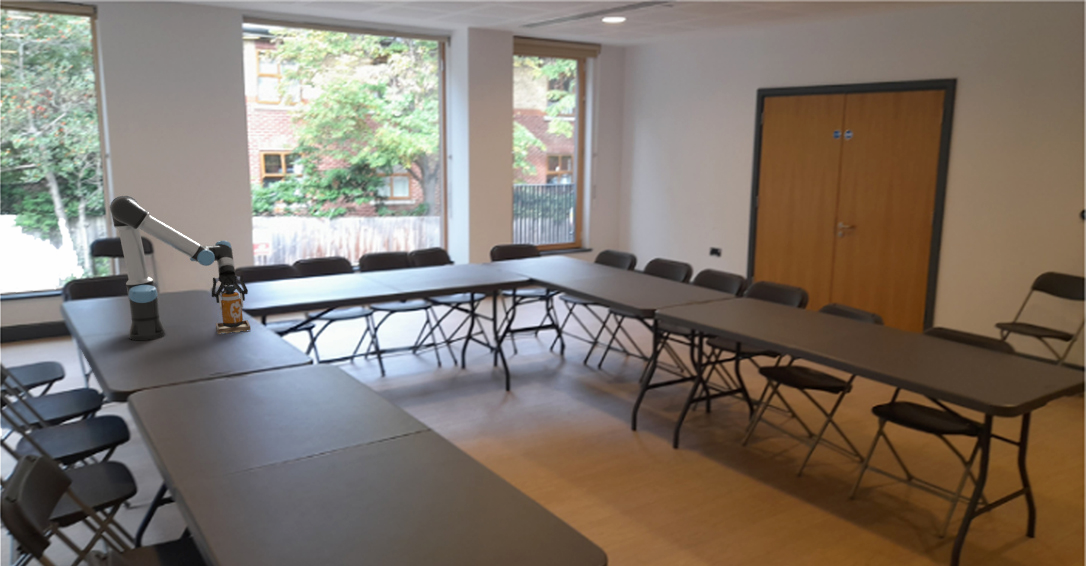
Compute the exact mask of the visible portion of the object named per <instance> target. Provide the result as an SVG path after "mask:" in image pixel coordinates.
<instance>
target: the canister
mask: <svg viewBox="0 0 1086 566" xmlns="http://www.w3.org/2000/svg"><path fill="white" fill-rule="evenodd" d="M220 294H221V305H222V309H221V316H222V323H223V326H226V327H238V326H240V325H242V324H243V321H244V319H243V307H241V299H240V293H239V292H238V291H237V289H236V287H235V286H233V285H229V284H228V285H227V286H225V285H224V286H223V287H222V288H221V293H220Z"/></svg>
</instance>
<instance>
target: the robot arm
mask: <svg viewBox="0 0 1086 566" xmlns="http://www.w3.org/2000/svg"><path fill="white" fill-rule="evenodd" d="M109 210H110V213H111V218H112V223H113V227H114V228H115V229H116V230H118V234H119V238H120V242H121V243H120V244H121V249H122V253H123V256H124V257H123V258H124V263H125V268H126V272H127V278H128V280H127V281H126V282H125V285H126V289H127V290H126V291H127V297H128V300H129V308H130V317H131V323H130V328H129V332H128V338H130V339H129V340H131V339H132V341H147V340H148V339H150V340H155V338H156V339H159V338H163V337H164V335H165V336H166V329H165V327H164V325H163V323H162V321H161V318H160V317H161V316H160V308H159V297H158V295H159V294H158V290H157V288H156V286H155V283H154V279H153V278H152V277H150V276H149V275H150V274H149V270H148V266H147V259H146V257H145V250H144V246H143V245H144V244H143V240H142V237H141V231H143V232H144V233H147V234H148V235H150V236H152V237H154V238H155V239H157V240H158V241H161V242H162V243H164V244H166V245H167V246H169V247H170V248H171V247H172V249H175V250H177V251H178V252H180V253H181V254H182V255H185V256H187V257H189V260H190V262H196V263H197V262H198V263H199V264H200V265H201V266H204V267H207V266H211V265H213V263H214V262H215V261H216V263H217V270H218V277H212V288H211V298H215V300H216V301H215V302H216V304H219V310H222V305H221V300H222V296H221V294H222V293H221V288H222V287H223V286H224V285H225V286H227V285H228V284H229V285H230V286H235V287H236V291H237V293H239V298H240V299H241V307H242V308H244V301H245V300H246V295H248V294H249V290H248V288H247V285H246V283H245V282H244V278H243V277H244V276H243V275H240V276H237V275H236V269H235V261H234V256H233V254H234V253H233V249H232V245H231V243H230V242H229V241H228V240H220V241H219V240H218V241H217V242H216V243H215V245H201V244H200V243H198V242H196V241H195V240H193V239H191V238H190V237H188V236H187V235H184V233H181V232H179V231H178V230H177V229H176V230H175V229H174V228H173V227H171V226H169V225H168V224H165V223H164V222H162V221H160V220H158V219H157V218H155V217H154V216H152V215H150V212H149V211H147V210H146V209H144V208H143V207H142V206H140V205H139V204H138V201H137V200H136V199H135V198H133V197H132V196H128V195H121V196H120V195H119V196H117V197H115V198H114V199H113V200H111V202H110V205H109ZM237 281H238V282H239V283H240V285H241V286H240V285H239V284H238V283H237ZM219 282H220V285H219V287H218V289H217V283H219ZM216 289H217V291H216ZM162 336H163V337H162ZM148 341H149V340H148Z"/></svg>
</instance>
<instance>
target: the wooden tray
mask: <svg viewBox="0 0 1086 566" xmlns="http://www.w3.org/2000/svg"><path fill="white" fill-rule="evenodd" d="M242 321H243V324H242V325H240V326H238V327H226V326H223V322H218V323H217V322H216V323H215V329H216V332H217V333H216V334H217V335H222V334H221V333H226V334H231V332H235V333H241V332H240V331H244V332H248V331H247V330H251V324H250V323H249V321H248V320H247V319H245V320H244V319H243V320H242Z"/></svg>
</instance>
